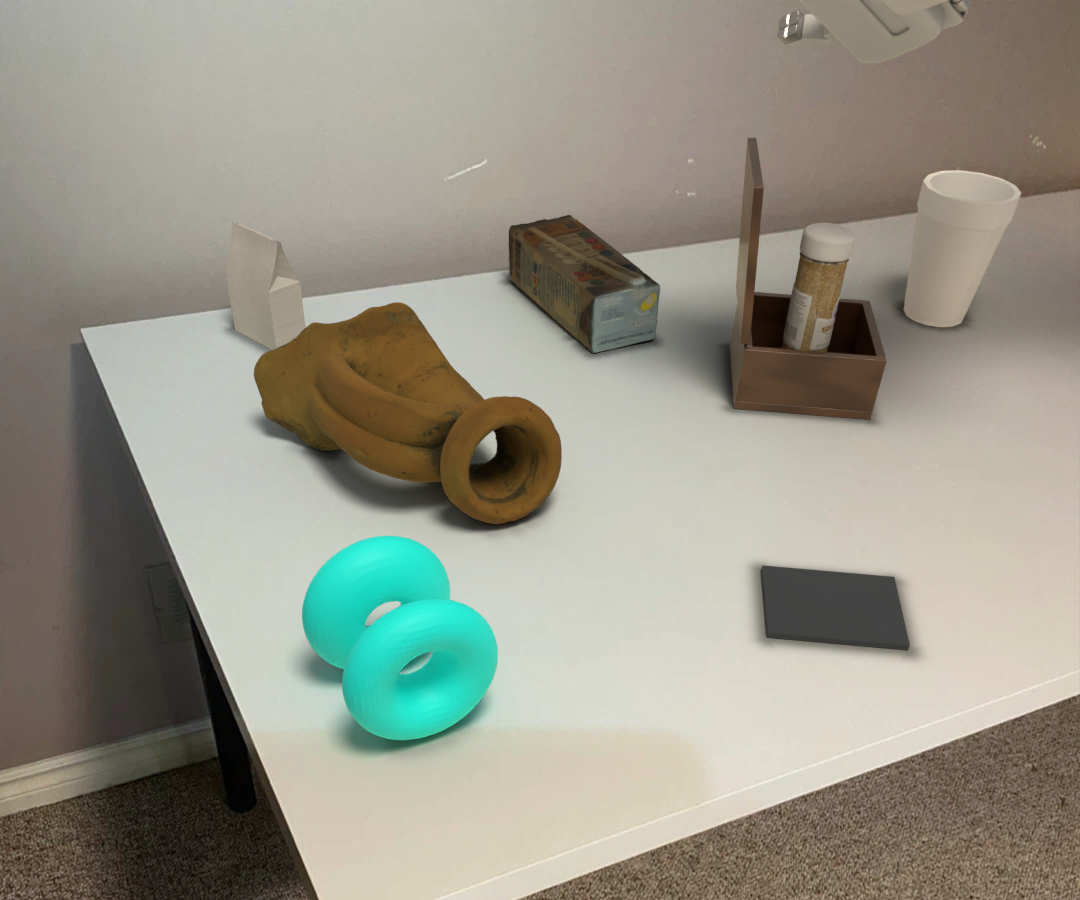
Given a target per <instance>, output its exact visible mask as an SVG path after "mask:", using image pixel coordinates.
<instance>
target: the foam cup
mask: <svg viewBox="0 0 1080 900" xmlns="http://www.w3.org/2000/svg"><path fill="white" fill-rule="evenodd" d="M1021 195H1022V191H1021V190H1020V189H1019V187H1017V185H1016V184H1014V183H1011V182H1010V181H1008V180H1005V179H1003V178H1001V177H997V176H994V175H992V174H991V175H990V174H987V173H984V172H977V171H969V170H962V169H961V170H940V171H936V172H933V173H929V174H927V175H926V177H925V178H924V179H923V181H922V184H921V187H920V191H919V195H918V198H917V201H916V207H917V214H916V220H915V226H914V227H915V228H914V234H913V239H912V241H913V242H912V248H911V254H910V261H909V268H908V275H907V280H906V281H907V282H906V288H905V289H906V290H905V296H904V302H903V304H904V306H903V312H904V314H905V316H906V317H907V318H909V319H911V320H912V321H913V322H916V323H919V324H921V325H924V326H929V327H934V328H935V327H936V328H951V327H955V326H958V325H960V324H962V322H963V320H964V318H965V316H966V314H967V313H968V310H969V308H970V306H971V305H972V302H973V300H974V299H975V295H976V294H977V291H978V289H979V288H980V285H981V283H982V280H983V278H984V276H985V274H986V272H987V270H988V268H989V267H990V263H991V261H992V260H993V257H994V255H995V253H996V251H997V248H998V246H999V245H1000V242H1001V240H1002V238H1003V236H1004V234H1005V232H1006V229H1007V228H1008V225H1010V224H1011V223H1012V220H1013V219H1014V217H1015V214H1016V210H1017V209H1018V208H1017V207H1018V205H1019V202H1020V199H1021V197H1022V196H1021Z"/></svg>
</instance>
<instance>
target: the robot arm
mask: <svg viewBox="0 0 1080 900" xmlns="http://www.w3.org/2000/svg"><path fill="white" fill-rule="evenodd" d="M798 2H799V3H800V4H801V5H802V6H803V7H804V8H805V9H806V10H807V11H808V13H807V14H805V13H803V12H802V10H801V11H800V9H797V10H794V11H793V12H791V13H790V14H784V15H783V16H782V17H781V18H780V19H779V21H778V30H777V35H776V36H777V37H778V39H779V40H781V42H782V43H784V45H786V47H788V48H792V47H795V46H798V45H800V44H803V43H807V44H819V45H820V44H821V45H823V44H824V45H832V44H835V43H840V44H841V45H842V46H843V47H844V48H845V50H847V51H848V52H849V53H850V54H851V55H852V56H853V57H854V59H856V60H857V61H858V62H859V63H861V64H864V65H865V64H867V65H878V64H882V63H886V62H887V61H890V60H893V59H895V58H899V57H900V56H903V55H906V54H908V53H910V52H912V51H915V50H916V49H918V48H921V47H923V46H925V45H926V44H929V43H931V42H932V41H934V40H935V39H936V38H937V37H938V36H939V35H940V34H941V32H942V31H944V30H947V29H950V28H953V27H956V26H958V25H960V24H961V23H963V21H964V19H965V18H967V16H968V14H969V11H970V8H971V6H972V0H798Z"/></svg>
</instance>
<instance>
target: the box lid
mask: <svg viewBox="0 0 1080 900" xmlns="http://www.w3.org/2000/svg"><path fill="white" fill-rule="evenodd" d="M757 139H758V138H757V137H747V138H746V149H745V150H746V151H745V152H746V153H745V163H744V177H743V178H744V179H743V188H742V189H743V192H742V201H741V202H742V203H741V214H740V216H741V218H740V226H739V227H740V228H739V239H738V240H739V242H738V254H737V255H738V256H737V267H736V268H737V269H736V279H735V290H736V305H737V304H738V316H739V329H740V341H741V344H750V336H751V324H752V313H753V302H754V292H756V291H755V289H756V278H757V268H758V256H759V245H760V236H761V222H762V213H763V203H764V202H763V201H764V190H765V187H764V180H763V174H762V167H761V159H760V153H759V147H758V140H757Z"/></svg>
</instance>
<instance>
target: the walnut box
mask: <svg viewBox="0 0 1080 900" xmlns="http://www.w3.org/2000/svg"><path fill="white" fill-rule="evenodd" d="M791 295H792V294H788V293H774V292H761V291H754V302H753V313H752V324H751V336H750V344H741V341H740V329H739V316H738V304H737V303H736V307H735V313H734V320H733V321H734V322H733V326H732V332H731V338H730V342H729V343H730V344H729V354H730V356H729V357H730V370H731V371H730V373H731V385H732V387H731V388H732V402H733V409H734V410H746V411H747V410H748V411H758V412H769V413H771V412H772V413H782V414H783V413H784V414H796V415H809V416H821V417H833V418H834V417H835V418H844V419H845V418H846V419H859V420H868V421H869V420H871V418H872V414H873V411H874V408H875V405H876V401H877V396H878V394H879V390H880V386H881V382H882V379H883V377H884V372H885V369H886V365H887V361H888V360H887V358H886V353H885V350H884V347H883V343H882V339H881V336H880V332H879V329H878V325H877V323H876V322H877V321H876V319H875V315H874V311H873V308H872V304H871V300H865V299H854V298H841V297H840V300H839V304H838V308H837V312H836V317H835V321H834V326H833V330H832V335H831V339H830V343H829V345H828V349H827V352H816V351H803V350H790V349H782V344H783V335H784V330H785V325H786V320H787V315H788V310H789V305H790V300H791Z"/></svg>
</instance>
